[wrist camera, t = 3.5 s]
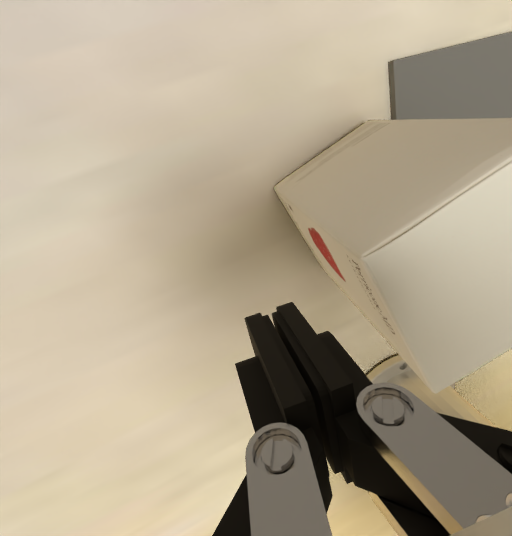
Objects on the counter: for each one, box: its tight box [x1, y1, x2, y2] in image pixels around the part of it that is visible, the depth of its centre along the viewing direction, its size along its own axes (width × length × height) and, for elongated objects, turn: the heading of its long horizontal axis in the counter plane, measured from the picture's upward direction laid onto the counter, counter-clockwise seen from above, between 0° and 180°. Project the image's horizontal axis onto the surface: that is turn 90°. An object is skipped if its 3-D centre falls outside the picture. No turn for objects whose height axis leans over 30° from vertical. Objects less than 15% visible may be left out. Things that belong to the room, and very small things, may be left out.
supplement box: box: [274, 118, 512, 394], centre depth 20 cm, size 9×9×15 cm
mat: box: [388, 32, 512, 120], centre depth 28 cm, size 18×19×1 cm
